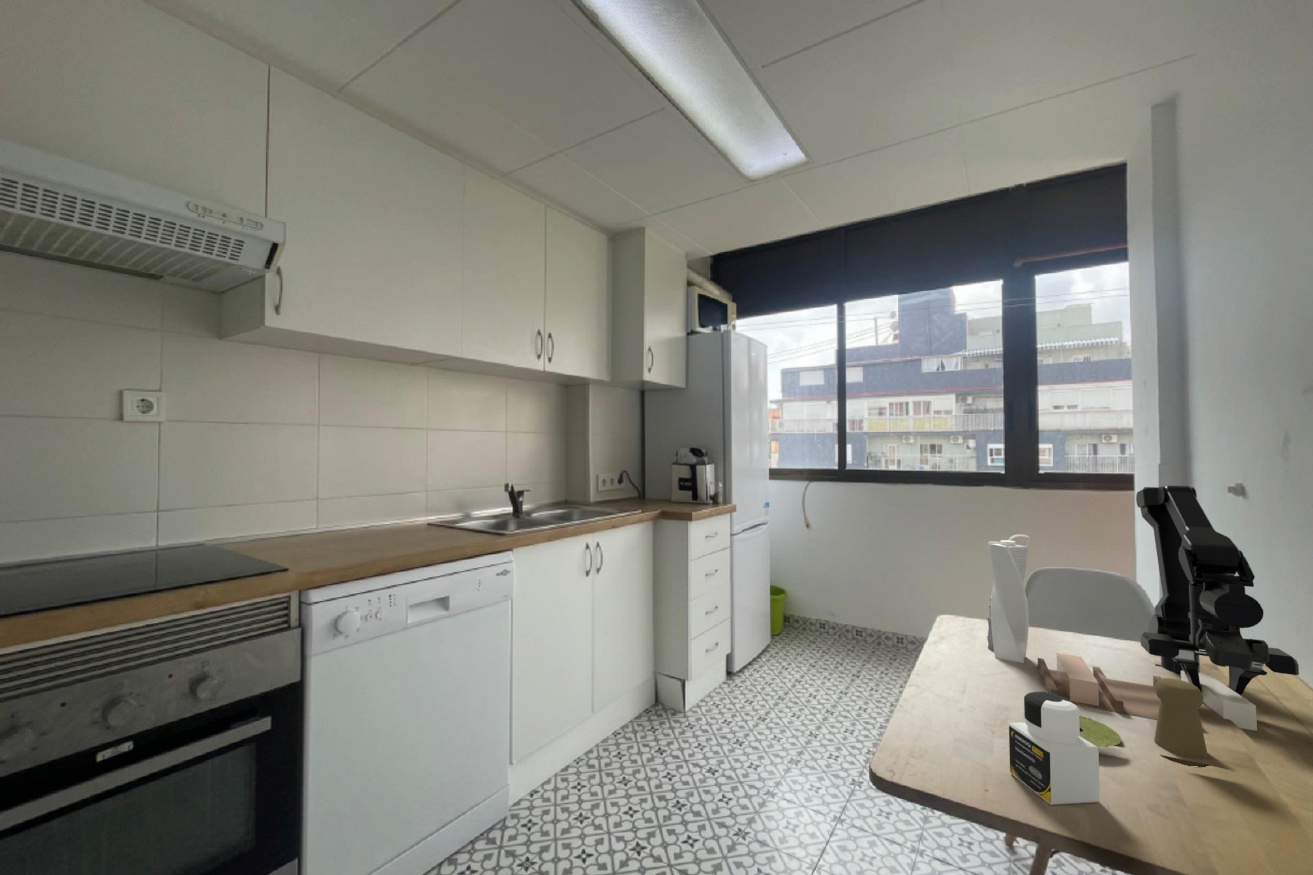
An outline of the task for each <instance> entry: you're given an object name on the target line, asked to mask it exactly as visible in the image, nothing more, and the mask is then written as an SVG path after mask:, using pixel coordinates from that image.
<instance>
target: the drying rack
mask: <svg viewBox="0 0 1313 875" xmlns="http://www.w3.org/2000/svg"><path fill="white" fill-rule="evenodd" d="M1037 670H1038V672H1039V674H1040V677H1041V679H1042V681H1043V684H1044V687H1045V689H1046V692H1048V693H1053V694H1056V695H1059V696H1062V697H1064V698H1066V699H1068V700H1070V699H1069V697H1068V695H1067V693H1066V691H1065V689H1064V686H1063V684H1062V682H1061V680H1060V678H1059V676H1058V674H1057V669H1049V668H1048V666H1047V663H1046V661H1045V658H1041V657H1037ZM1092 674H1093V675H1094V677H1095V678H1096V680H1097V682H1098V690H1099V706H1096V705H1091V704H1085V703H1080V702H1074V701H1072V702H1073V703H1074V704H1075V705H1076V706H1077V707H1084V708H1089V709H1095V710H1100V711H1105V712H1112V713H1117V714H1122V715H1126V716H1127V715H1128V716H1131V717H1132V716H1133V717H1138V718H1144V719H1149V720H1154V721H1155V720H1156V721H1157V718H1158V712H1159V705H1160V699H1159V698H1158V696H1157V694H1156V691H1155V684H1156V682H1157V681H1158V680H1159V679H1163V678H1162V677H1161V676H1158V675H1152V683H1153V684H1152V685H1149V684H1148V685H1147V684H1142V683H1135V682H1130V681H1124V680H1117V679H1112V678H1108V677H1107V676H1106V675H1105V673H1104V672H1103V670H1102V669H1101V667H1099V666H1093V665H1092Z"/></svg>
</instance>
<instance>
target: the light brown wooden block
mask: <svg viewBox="0 0 1313 875" xmlns="http://www.w3.org/2000/svg"><path fill="white" fill-rule="evenodd" d="M1056 671H1057V674H1058V676H1059V678H1060V680H1061V682H1062V684H1063V686H1064V689H1065V691H1066V693H1067V695H1068V697H1069V699H1070V701H1074V702H1080V703H1085V704H1091V705H1096V706H1099V690H1098V682H1097V680H1096V678H1095V677H1094V675H1093V671H1091V669H1090V667H1089V666H1088V664H1087V663H1086V661H1085V660H1084V659H1083V656H1079V655H1071V654H1067V653H1066V654H1065V653H1060V652H1059V653H1058V652H1056Z"/></svg>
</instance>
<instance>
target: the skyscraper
mask: <svg viewBox="0 0 1313 875" xmlns="http://www.w3.org/2000/svg"><path fill="white" fill-rule="evenodd" d="M1017 537H1022V538H1027V542H1026V545H1021V544H1016V541H1015V540H1013V539H1014V538H1017ZM1030 542H1031V536H1030V535H1027V534H1014V535H1011V536H1010V537H1009V538H1008V539H1007V540H1006V539H1001V540H1000V541H995V540H994V541H993V540H991V541H988V543H987V547H988V554H989V563H990V571H991V575H992V576H991V577H992V580H993V583H992V589H991V595H990V596H991V597H990V598H989V599H990V600H989V601H990V602H989V603H990V605H989V606H988V608H989V616H987V623H988V624H987V625H988V629H987V637H986V638H987V643H988V645H987V649H988V650H989V651H993V653H994V658H995V659H999V660H1005V661H1010V662H1016V663H1021V664H1025V662H1024V661H1025V658H1026V656H1027V648H1028V640H1029V639H1028V638H1029V606H1028V599H1027V594H1026V588H1025V584H1024V581H1025V575H1026V568H1027V560H1028V549H1029V545H1030Z"/></svg>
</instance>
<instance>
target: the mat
mask: <svg viewBox="0 0 1313 875" xmlns="http://www.w3.org/2000/svg"><path fill="white" fill-rule="evenodd" d="M1079 726H1080V737H1082V738H1083V739H1085V740H1087V741H1088V742H1090V743H1092V744H1093V745H1095V746H1097V747H1098V748H1099V747H1101V748H1104V747H1105V748H1109V747H1114V746H1118V745H1119V744H1121V743H1122V737H1121V736H1120V735H1119V733H1118V732H1117V731H1115V730H1114V729H1112V728H1111V727H1109V726H1108V725H1106V724H1105V723H1101V722H1100V721H1098V720H1097V721H1096V720H1095V719H1092V718H1088V717H1086V716H1084V715H1083V716H1082V715H1080V714H1079Z"/></svg>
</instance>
